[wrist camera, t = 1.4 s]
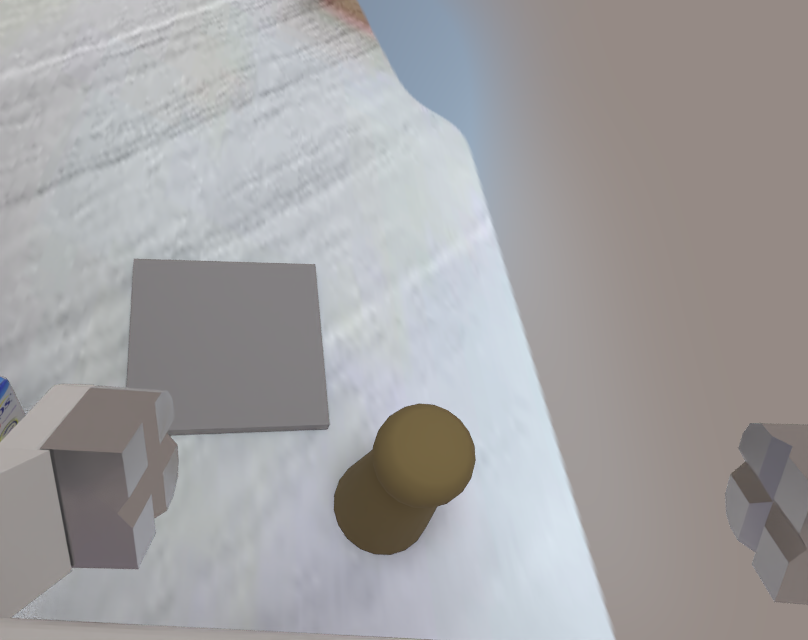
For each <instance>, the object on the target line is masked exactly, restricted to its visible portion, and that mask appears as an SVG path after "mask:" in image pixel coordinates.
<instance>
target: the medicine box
mask: <svg viewBox="0 0 808 640" xmlns="http://www.w3.org/2000/svg"><path fill="white" fill-rule="evenodd" d="M24 416H25V413H24V411H23V409H22V407H21V405H20V403H19V401H18V399H17V397H16V395H15V392H14V390H13V388H12V387H11V385H10V383H9V381H8V380H7V379H6V378H5V377H3V376H0V442H1V441H2V440H3V439H4V438H5V437H6V435H7V434H8V433H9V432H10V431H11V430H12V429H13V428H14V427H15V426H16V425H17V424H18V423H19V422H20V421H21V420H22V418H23V417H24Z"/></svg>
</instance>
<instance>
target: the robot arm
mask: <svg viewBox="0 0 808 640" xmlns="http://www.w3.org/2000/svg"><path fill="white" fill-rule="evenodd" d="M174 418H175V416H174V409H173V401H172V397H171V395H170V394H169V393H168V391H165V390H152V389H138V388H124V387H111V386H94V385H86V384H58V385H54V386H53V387H52V388H51V389H50V390H49V391H48V392H47V393H46V394H45V395H44V396H43V397H42V398H41V399H40V400H39V401H38V403H37V404H36V405H35V406H34V407H33V408H32V409H31V410H30V411H29V412H28V413H27V414H26V415H25V416H24V417H23V418H22V420H21V421H20V422H19V423H18V424H17V425H16V426H15V427H14V428H13V429H12V430H11V431H10V432H9V433H8V434H7V435H6V437H5V438H4V439H3V440H2V441H1V442H0V640H431V639H411V638H392V637H372V636H353V635H333V634H314V633H294V632H275V631H255V630H235V629H216V628H196V627H177V626H157V625H138V624H118V623H99V622H79V621H60V620H40V619H21V618H11V617H12V616H14V615H15V614H16V613H18V612H19V611H20V610H21V609H23V608H24V607H25V606H27V605H28V604H29V603H31V602H32V601H33V600H35V599H36V598H37V597H38V596H40V595H41V594H42V593H44V592H45V591H46V590H48V589H49V588H50V587H52V586H53V585H54V584H56V583H57V582H58V581H59V580H61V579H62V578H63V577H65V576H66V575H67V574H69V573H70V572H71V571H72V568H113V569H139V566H140V564H141V562H142V560H143V558H144V556H145V554H146V552H147V550H148V548H149V546H150V544H151V542H152V540H153V538H154V536H155V534H156V530H155V521H154V518H156V517H157V516H159V515H161V514H162V513H164V512H165V511H167V509H168V507H169V505H170V502H171V500H172V498H173V496H174V491H175V487H176V482H177V478H178V462H179V458H178V446H177V444H176V443H175V442H174V440H173V439H172V438H171V437H170V436H169V435H168V434H167V431H168V429H169V427H170V426H171V424H172V422H173V420H174ZM739 450H740V452H741V454H742V456H743V458H744V460H745V462H744V463H743V464H742V465H741V466H740V467H739V468H737V469H736V470H735V471H734V472H732V473H731V475H730V478H729V482H728V486H727V490H726V494H725V496H726V514H727V518H728V521H729V524H730V527H731V529H732V531H733V533H734V535H735V536H736V538H737V540H738V541H739V542H741V543H742V544H744V545H745V546H747V547H748V548H750V549H751V550H753V551H754V552H755V553H756V554H755V556H754V559H753V562H752V565H753V567H754V569H755V570H756V572H757V574H758V575H759V577H760V579H761V580H762V582H763V584H764V585H765V587H766V589H767V590H768V592H769V594H770V595H771V597H772V599H773V600H774V602H781V603H794V604H807V605H808V425H798V424H763V423H760V424H759V423H750V424H749V426H748V427H747V429H746V430H745V431H744V433H743V435H742V439H741V442H740V445H739Z"/></svg>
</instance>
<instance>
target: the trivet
mask: <svg viewBox="0 0 808 640" xmlns="http://www.w3.org/2000/svg"><path fill="white" fill-rule="evenodd" d="M127 388H138V389H152V390H165V391H168V393H169V394H170V395H171V397H172V401H173V409H174V416H175V418H174V420H173V422H172V424H171V426H170V427H169V429H168V431H167V434H168V435H182V434H209V433H236V432H263V431H290V430H317V429H328V427H329V414H328V402H327V391H326V380H325V369H324V357H323V346H322V335H321V323H320V312H319V301H318V290H317V278H316V267H315V264H287V263H254V262H221V261H189V260H156V259H134V264H133V282H132V300H131V317H130V335H129V353H128V370H127Z"/></svg>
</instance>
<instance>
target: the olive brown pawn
mask: <svg viewBox="0 0 808 640" xmlns="http://www.w3.org/2000/svg"><path fill="white" fill-rule="evenodd" d="M475 461H476V460H475V447H474V443H473V441H472V438H471V436H470V433H469V431H468V430H467V428H466V427H465V426H464V424H463V423H462V422H461V420H460V419H458V418H457V417H456V416H455V415H453V414H452V413H451V412H449V411H448V410H446V409H443V408H441V407H438V406H435V405H430V404H416V405H411V406H407V407H404V408H402V409H400V410H399V411H397V412H396V413H394V414H392V415H391V416H389V418H388V419H387V420H386V421H385V423H384V424H383V425H382V426H381V428H380V429H379V431H378V433H377V436H376V439H375V442H374V445H373V450H372V451H370V452H369V453H368V454H366V455H365V456H364V457H363V458H361V459H360V460H359V461H358V462H356V463H355V464H354V465H352V466H351V467H350V468H349V469H348V470H347V471H346V472H345V474H344V475H343V476H342V478H341V479H340V480H339V483H338V486H337V488H336V491H335V494H334V512H335V515H336V519H337V522H338V525H339V527H340V528H341V530H342V531H343V533H344V534H345V536H346V537H347V539H349V540H350V541H351V542H352V543H354V544H355V545H356V546H357V547H359V548H360V549H362V550H365V551H368V552H370V553H373V554H383V555H391V554H394V553H397V552H401V551H404V550H406V549H407V548H408V547H410V546H411V545H412V544H414V543H415V542H416V541H417V540H418V539H419V537H420V536H421V534H422V533H423V531H424V530H425V528H426V526H427V524H428V523H429V521H430V519H431V517H432V515H433V513H434V512H435V510H436V508H437V506H440V505H444V504H447V503H448V502H450V501H451V500H452V499H454V498H455V497H456V496H458V495H459V494H460V493H461V492H463V490H464V489H465V487H466V486H467V484H468V483H469V481H470V479H471V476H472V473H473V469H474V465H475Z"/></svg>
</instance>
